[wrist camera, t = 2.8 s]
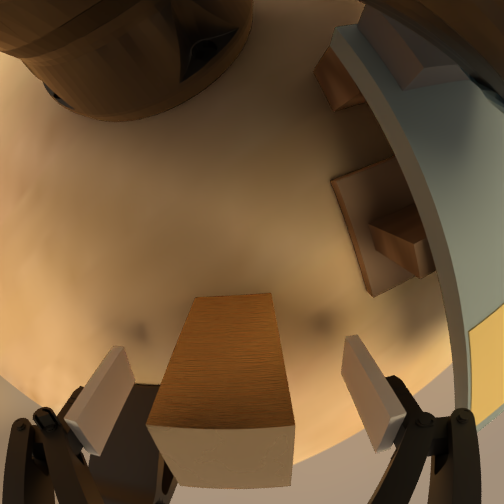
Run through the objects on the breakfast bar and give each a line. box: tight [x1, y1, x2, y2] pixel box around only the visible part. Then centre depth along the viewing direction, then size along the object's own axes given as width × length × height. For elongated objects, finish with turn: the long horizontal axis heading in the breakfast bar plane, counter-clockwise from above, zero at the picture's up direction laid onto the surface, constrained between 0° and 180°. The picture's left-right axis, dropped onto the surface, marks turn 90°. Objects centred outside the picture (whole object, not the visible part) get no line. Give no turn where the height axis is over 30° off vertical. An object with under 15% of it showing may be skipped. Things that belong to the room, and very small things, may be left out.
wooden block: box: [146, 293, 295, 489], centre depth 13 cm, size 5×5×11 cm
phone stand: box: [88, 385, 178, 504], centre depth 16 cm, size 9×6×12 cm, turn 5°
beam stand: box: [313, 46, 436, 298], centre depth 13 cm, size 15×13×6 cm
